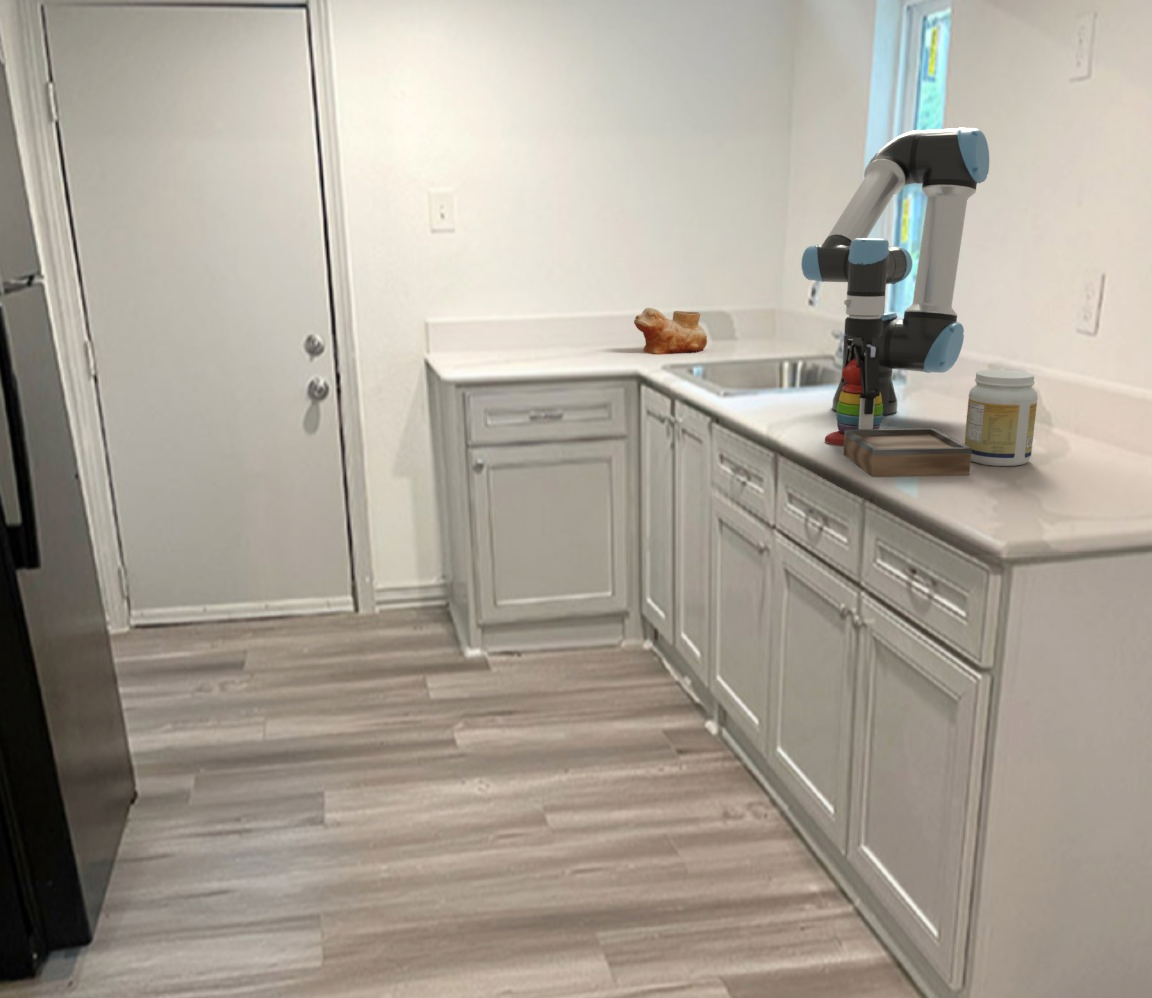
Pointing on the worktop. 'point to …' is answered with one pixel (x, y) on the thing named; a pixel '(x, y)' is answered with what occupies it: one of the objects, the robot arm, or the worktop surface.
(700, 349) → the ceramic vessel
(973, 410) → the supplement tub
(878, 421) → the stacking bear
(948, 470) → the square tray
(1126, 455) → the worktop surface
